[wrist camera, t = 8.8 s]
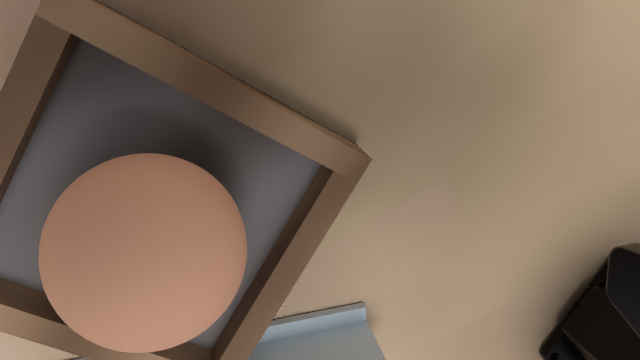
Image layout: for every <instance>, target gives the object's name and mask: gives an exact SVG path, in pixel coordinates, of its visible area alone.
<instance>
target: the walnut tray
mask: <svg viewBox="0 0 640 360" xmlns="http://www.w3.org/2000/svg"><path fill="white" fill-rule="evenodd" d="M140 153H156V154H163V155H170V156H173V157H177V158H181V159H184V160H186V161H189V162H191V163H193V164H195V165H197V166H199V167H201V168H202V169H204V170H205V171H207V172H208V173H209V174H211V175H212V176H213V177H214V178H216V179H217V180H218V181H219V182H220V183H221V184H222V185H223V186H224V187H225V189H226V190H227V191H228V192H229V194H230V195H231V196H232V198H233V200H234V201H235V203H236V205H237V207H238V209H239V212H240V214H241V217H242V219H243V222H244V226H245V230H246V238H247V261H246V266H245V271H244V276H243V278H242V281H241V284H240V287H239V289H238V291H237V293H236V295H235V297H234V299H233V300H232V302H231V303H230V305H229V306H228V308H227V309H226V311H225V312H224V313H223V314H222V315H221V316H220V317H219V319H218V320H217V321H215V322H214V323H213V324H212V325H211V326H210V327H209V328H208V329H207V330H205V331H204V332H202V333H201V334H199V335H198V336H196V337H195V338H193V339H191V340H189V341H187V342H185V343H182V344H180V345H177V346H175V347H172V348H169V349H165V350H161V351H156V352H147V353H128V352H121V351H115V350H111V349H107V348H105V347H102V346H99V345H97V344H95V343H93V342H91V341H89V340H87V339H85V338H83V337H82V336H81V335H79V334H78V333H76V332H75V331H73V330H72V329H71V328H70V327H69V326H68V325H67V324H65V323H64V321H63V320H62V319H61V318H60V317H59V315H58V314H57V313H56V311H55V310H54V308H53V306H52V305H51V303H50V302H49V300H48V298H47V295H46V293H45V291H44V288H43V284H42V281H41V277H40V272H39V262H38V256H39V244H40V238H41V234H42V229H43V227H44V224H45V222H46V219H47V217H48V215H49V213H50V211H51V209H52V207H53V206H54V204H55V202H56V200H57V199H58V198H59V197H60V196H61V194H62V193H63V192H64V191H65V190H66V188H67V187H68V186H69V185H70V184H72V183H73V182H74V181H75V180H76V179H77V178H78V177H79V176H81V175H82V174H84V173H85V172H87V171H88V170H90V169H92V168H94V167H95V166H97V165H99V164H101V163H103V162H106V161H109V160H111V159H114V158H117V157H121V156H126V155H130V154H140ZM371 160H372V159H371V158H370V157H369V156H368V155H367V154H366V153H365V152H364V151H363V150H362V149H361V148H360V147H359V146H358V145H356V144H355V143H353V142H351V141H349V140H348V139H346V138H344V137H342V136H340V135H339V134H337V133H335V132H333V131H331V130H330V129H328V128H326V127H324V126H322V125H321V124H319V123H317V122H315V121H313V120H312V119H310V118H308V117H306V116H304V115H303V114H301V113H299V112H297V111H295V110H294V109H292V108H290V107H288V106H286V105H285V104H283V103H281V102H279V101H277V100H276V99H274V98H272V97H270V96H268V95H267V94H265V93H263V92H261V91H259V90H258V89H256V88H254V87H252V86H250V85H249V84H247V83H245V82H243V81H241V80H240V79H238V78H236V77H234V76H232V75H231V74H229V73H227V72H225V71H223V70H222V69H220V68H218V67H216V66H214V65H213V64H211V63H209V62H207V61H205V60H204V59H202V58H200V57H198V56H196V55H195V54H193V53H191V52H189V51H187V50H186V49H184V48H182V47H180V46H178V45H177V44H175V43H173V42H171V41H169V40H168V39H166V38H164V37H162V36H160V35H159V34H157V33H155V32H153V31H151V30H150V29H148V28H146V27H144V26H142V25H141V24H139V23H137V22H135V21H133V20H132V19H130V18H128V17H126V16H124V15H123V14H121V13H119V12H117V11H115V10H114V9H112V8H110V7H108V6H106V5H105V4H103V3H101V2H99V1H97V0H41V3H40V5H39V7H38V9H37V12H36V14H35V16H34V18H33V21H32V23H31V25H30V27H29V30H28V32H27V34H26V36H25V39H24V41H23V43H22V45H21V47H20V50H19V52H18V54H17V56H16V59H15V61H14V63H13V65H12V68H11V70H10V72H9V74H8V77H7V79H6V81H5V83H4V86H3V88H2V90H1V92H0V331H1V332H4V333H7V334H11V335H14V336H17V337H20V338H24V339H27V340H30V341H33V342H37V343H40V344H43V345H46V346H49V347H53V348H56V349H59V350H62V351H66V352H69V353H72V354H75V355H79V356H82V357H85V358H88V359H92V360H248V359H249V357H250V355H251V354H252V352H253V351H254V349H255V347H256V346H257V344H258V343H259V341H260V339H261V338H262V336H263V334H264V333H265V331H266V330H267V328H268V326H269V325H270V323H271V322H272V320H273V318H274V317H275V315H276V313H277V312H278V310H279V309H280V307H281V305H282V304H283V302H284V301H285V299H286V297H287V296H288V294H289V292H290V291H291V289H292V288H293V286H294V284H295V283H296V281H297V280H298V278H299V276H300V275H301V273H302V271H303V270H304V268H305V267H306V265H307V263H308V262H309V260H310V259H311V257H312V255H313V254H314V252H315V250H316V249H317V247H318V246H319V244H320V242H321V241H322V239H323V238H324V236H325V234H326V233H327V231H328V229H329V228H330V226H331V225H332V223H333V221H334V220H335V218H336V217H337V215H338V213H339V212H340V210H341V208H342V207H343V205H344V204H345V202H346V200H347V199H348V197H349V196H350V194H351V192H352V191H353V189H354V187H355V186H356V184H357V183H358V181H359V179H360V178H361V176H362V175H363V173H364V171H365V170H366V168H367V166H368V165H369V163H370V162H371Z"/></svg>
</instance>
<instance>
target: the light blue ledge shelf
mask: <svg viewBox="0 0 640 360" xmlns="http://www.w3.org/2000/svg"><path fill="white" fill-rule="evenodd" d="M73 360H92V359H88V358H85V357H83V358H78V359H73ZM248 360H386V358H385V356H384V354H383V352H382V350H381V348H380V346H379V344H378V343H377V341H376V339H375V337H374V335H373V333H372V331H371V329H370V327H369V325H368V323H367V319H366V307H365V305H364V303H363V302H362V303H357V304H352V305H347V306H342V307H336V308H331V309H326V310H321V311H316V312H311V313H306V314H301V315H296V316H291V317H286V318H281V319H276V320H272V322H271V323H270V325H269V326H268V328H267V330H266V331H265V333H264V334H263V336H262V338H261V339H260V341H259V343H258V344H257V346H256V347H255V349H254V351H253V352H252V354H251V355H250V357H249V359H248Z"/></svg>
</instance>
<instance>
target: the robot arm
mask: <svg viewBox="0 0 640 360" xmlns="http://www.w3.org/2000/svg"><path fill="white" fill-rule="evenodd" d="M541 357H542V358H543V359H544V360H640V244H639V243H632V244H627V245H623V246H618V247H615V248H614V249H612V250H611V252H610V254H609V261H608V263H607V264H606V265H605V267H604V268H603V269H602V271H601V272H600V273H599V275H598V276H597V277H596V279H595V280H594V281H593V283H592V284H591V285H590V286H589V288H588V289H587V290H586V292H585V293H584V294H583V296H582V297H581V298H580V300H579V301H578V302H577V304H576V305H575V306H574V308H573V309H572V310H571V312H570V313H569V314H568V316H567V317H566V318H565V320H564V321H563V322H562V324H561V325H560V326H559V328H558V329H557V330H556V332H555V333H554V334H553V336H552V337H551V338H550V339H549V341H548V342H547V343H546V345H545V346H544V347H543V349H542V351H541Z"/></svg>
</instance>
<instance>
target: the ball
mask: <svg viewBox="0 0 640 360" xmlns="http://www.w3.org/2000/svg"><path fill="white" fill-rule="evenodd" d="M246 261H247V238H246V230H245V226H244V222H243V219H242V217H241V214H240V212H239V209H238V207H237V205H236V203H235V201H234V200H233V198H232V196H231V195H230V194H229V192H228V191H227V190H226V189H225V187H224V186H223V185H222V184H221V183H220V182H219V181H218V180H217V179H216V178H214V177H213V176H212V175H211V174H209V173H208V172H207V171H205V170H204V169H202V168H201V167H199V166H197V165H195V164H193V163H191V162H189V161H186V160H184V159H181V158H177V157H173V156H170V155H163V154H156V153H140V154H130V155H126V156H121V157H117V158H114V159H111V160H109V161H106V162H103V163H101V164H99V165H97V166H95V167H94V168H92V169H90V170H88V171H87V172H85V173H84V174H82V175H81V176H79V177H78V178H77V179H76V180H75V181H74V182H73V183H72V184H70V185H69V186H68V187H67V188H66V190H65V191H64V192H63V193H62V194H61V196H60V197H59V198H58V199H57V200H56V202H55V204H54V206H53V207H52V209H51V211H50V213H49V215H48V217H47V219H46V222H45V224H44V227H43V229H42V234H41V238H40V244H39V256H38V262H39V272H40V277H41V281H42V284H43V288H44V291H45V293H46V295H47V298H48V300H49V302H50V303H51V305H52V306H53V308H54V310H55V311H56V313H57V314H58V315H59V317H60V318H61V319H62V320H63V321H64V323H65V324H67V325H68V326H69V327H70V328H71V329H72V330H73V331H75V332H76V333H78V334H79V335H81V336H82V337H83V338H85V339H87V340H89V341H91V342H93V343H95V344H97V345H99V346H102V347H105V348H107V349H111V350H115V351H121V352H128V353H147V352H156V351H161V350H165V349H169V348H172V347H175V346H177V345H180V344H182V343H185V342H187V341H189V340H191V339H193V338H195V337H196V336H198V335H199V334H201V333H202V332H204V331H205V330H207V329H208V328H209V327H210V326H211V325H212V324H213V323H214V322H215V321H217V320H218V319H219V317H220V316H221V315H222V314H223V313H224V312H225V311H226V309H227V308H228V306H229V305H230V303H231V302H232V300H233V299H234V297H235V295H236V293H237V291H238V289H239V287H240V284H241V281H242V278H243V276H244V271H245V266H246Z"/></svg>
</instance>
